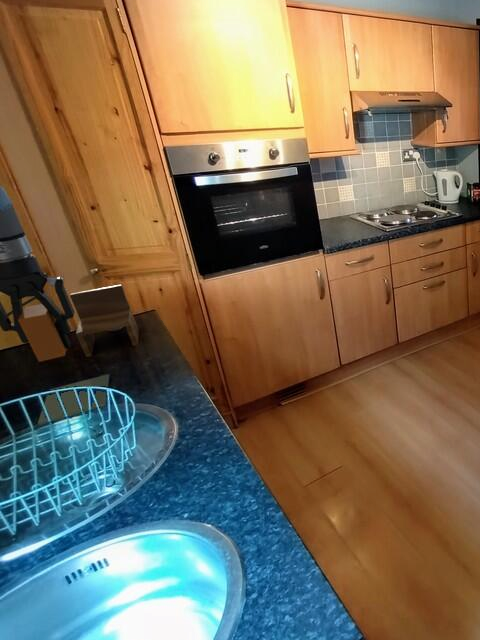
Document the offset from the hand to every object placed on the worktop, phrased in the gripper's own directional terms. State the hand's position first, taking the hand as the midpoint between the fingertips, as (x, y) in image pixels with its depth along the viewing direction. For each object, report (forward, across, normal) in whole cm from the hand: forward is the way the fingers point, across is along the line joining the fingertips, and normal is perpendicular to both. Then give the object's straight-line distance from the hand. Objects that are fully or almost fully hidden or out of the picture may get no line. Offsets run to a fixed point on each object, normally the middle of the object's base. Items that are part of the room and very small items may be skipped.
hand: (53, 349), depth 108 cm
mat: (+15, 0, 0) cm, 15 cm away
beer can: (+15, +6, +41) cm, 44 cm away
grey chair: (+14, +6, +30) cm, 34 cm away
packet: (+1, 0, 0) cm, 1 cm away
